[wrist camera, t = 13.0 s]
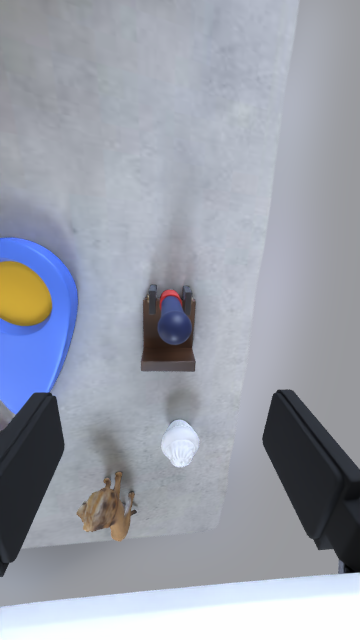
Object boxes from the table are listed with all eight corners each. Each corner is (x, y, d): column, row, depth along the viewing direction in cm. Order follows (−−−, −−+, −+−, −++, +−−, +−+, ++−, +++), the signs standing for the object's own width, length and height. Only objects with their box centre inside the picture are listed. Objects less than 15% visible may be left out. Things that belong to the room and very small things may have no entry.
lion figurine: (86, 469, 41) (66, 528, 33) (111, 458, 41) (98, 516, 32) (125, 512, 46) (117, 574, 38) (149, 504, 46) (145, 564, 37)
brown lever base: (143, 284, 30) (140, 293, 25) (195, 286, 31) (201, 295, 26) (144, 352, 34) (141, 371, 29) (190, 353, 34) (194, 371, 30)
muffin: (169, 444, 40) (170, 484, 34) (155, 420, 38) (153, 458, 32) (201, 432, 40) (209, 470, 33) (188, 407, 38) (194, 443, 31)
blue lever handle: (157, 314, 16) (156, 350, 17) (195, 315, 16) (192, 350, 17) (159, 288, 29) (159, 309, 30) (180, 289, 29) (179, 309, 30)
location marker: (76, 406, 37) (80, 249, 28) (67, 423, 33) (70, 251, 24) (-13, 398, 35) (-38, 227, 26) (-30, 415, 32) (-66, 226, 23)
